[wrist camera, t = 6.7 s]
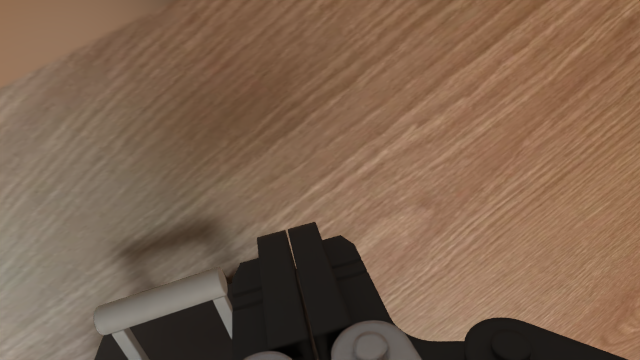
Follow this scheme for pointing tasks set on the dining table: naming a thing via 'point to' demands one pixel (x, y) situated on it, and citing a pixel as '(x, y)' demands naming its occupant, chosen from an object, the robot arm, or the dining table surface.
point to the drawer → (170, 321)
